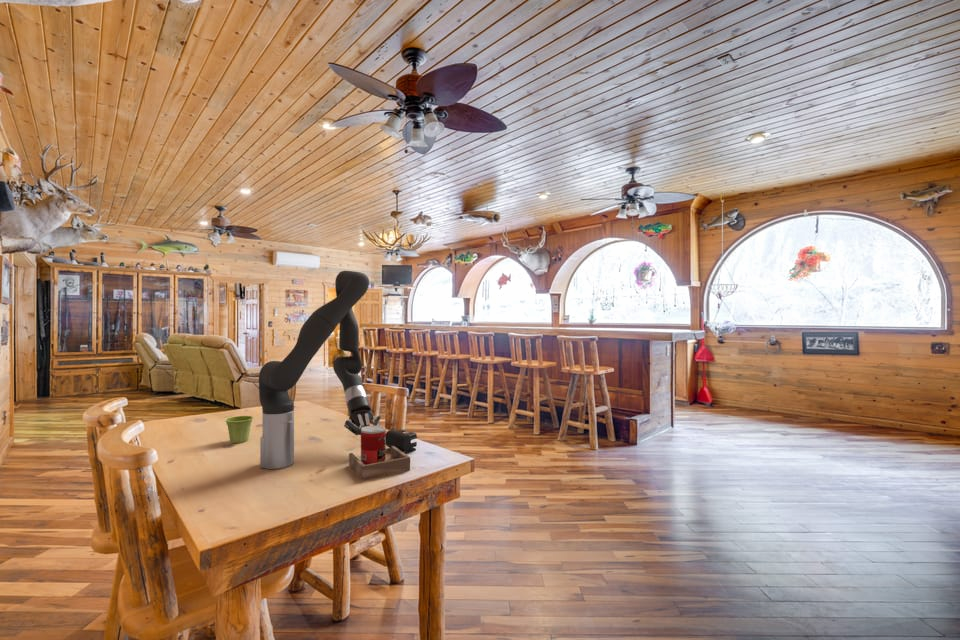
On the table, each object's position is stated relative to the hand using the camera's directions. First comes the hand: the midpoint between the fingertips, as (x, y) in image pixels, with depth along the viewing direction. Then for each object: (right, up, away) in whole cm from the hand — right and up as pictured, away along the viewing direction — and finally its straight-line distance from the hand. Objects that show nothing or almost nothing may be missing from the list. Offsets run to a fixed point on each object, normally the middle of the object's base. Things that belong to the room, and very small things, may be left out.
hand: (368, 443), depth 145 cm
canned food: (+3, -5, -4) cm, 7 cm away
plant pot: (-54, -5, +19) cm, 57 cm away
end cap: (+9, -5, +8) cm, 13 cm away
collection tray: (+6, -5, -9) cm, 12 cm away
